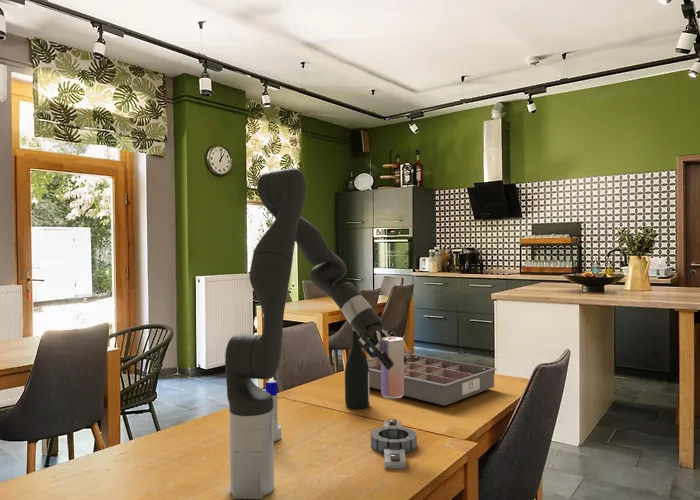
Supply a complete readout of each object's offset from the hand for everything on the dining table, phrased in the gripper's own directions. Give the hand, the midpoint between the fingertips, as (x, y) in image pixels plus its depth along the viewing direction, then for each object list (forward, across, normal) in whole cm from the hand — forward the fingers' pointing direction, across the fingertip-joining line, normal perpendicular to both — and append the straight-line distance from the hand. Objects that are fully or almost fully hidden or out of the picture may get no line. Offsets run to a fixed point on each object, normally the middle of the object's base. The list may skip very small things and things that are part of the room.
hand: (397, 365), depth 135 cm
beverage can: (+5, 0, +7) cm, 9 cm away
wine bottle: (-6, +22, +37) cm, 43 cm away
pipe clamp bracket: (+14, 0, +16) cm, 21 cm away
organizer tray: (0, +52, +31) cm, 61 cm away
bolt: (-6, -16, +37) cm, 41 cm away
